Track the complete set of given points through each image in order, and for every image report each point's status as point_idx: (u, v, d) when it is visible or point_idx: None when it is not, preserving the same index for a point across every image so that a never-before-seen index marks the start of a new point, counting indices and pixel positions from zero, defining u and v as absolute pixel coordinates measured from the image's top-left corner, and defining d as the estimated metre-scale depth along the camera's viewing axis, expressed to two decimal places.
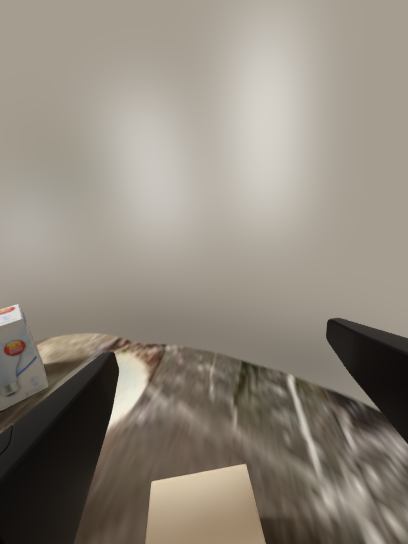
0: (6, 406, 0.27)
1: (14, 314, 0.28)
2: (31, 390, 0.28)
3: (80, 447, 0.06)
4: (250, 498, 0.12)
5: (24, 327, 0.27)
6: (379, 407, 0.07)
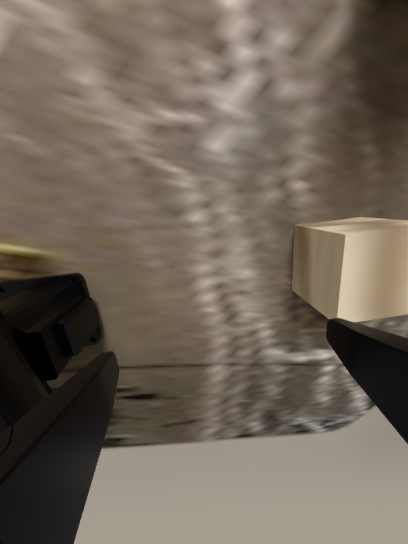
0: None
1: None
2: None
3: (80, 447, 0.06)
4: (397, 313, 0.15)
5: None
6: (379, 407, 0.07)
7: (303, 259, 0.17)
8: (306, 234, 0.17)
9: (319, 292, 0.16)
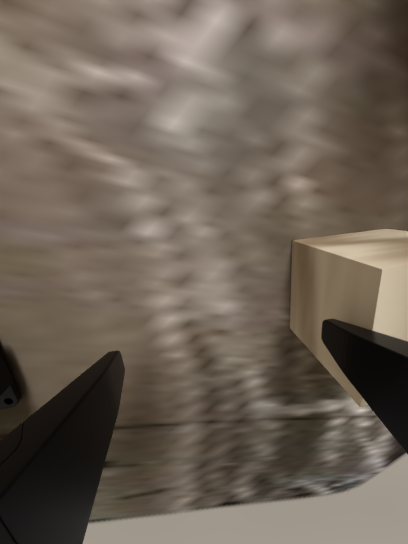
0: None
1: None
2: None
3: (89, 446, 0.06)
4: None
5: None
6: (373, 408, 0.07)
7: (306, 291, 0.12)
8: (310, 256, 0.11)
9: None
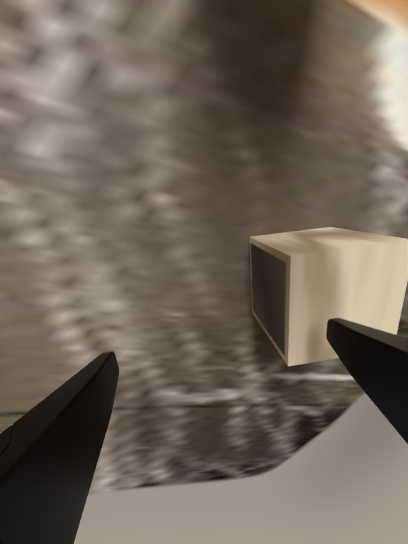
0: None
1: None
2: None
3: (80, 447, 0.06)
4: None
5: None
6: (379, 407, 0.07)
7: (324, 302, 0.10)
8: (331, 262, 0.10)
9: None
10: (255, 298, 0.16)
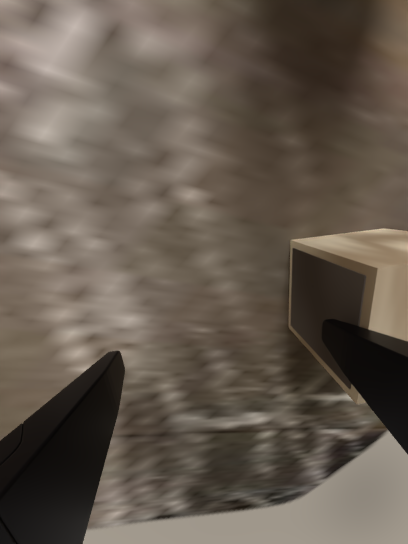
0: None
1: None
2: None
3: (89, 445, 0.06)
4: None
5: None
6: (373, 408, 0.07)
7: None
8: None
9: None
10: (295, 311, 0.13)
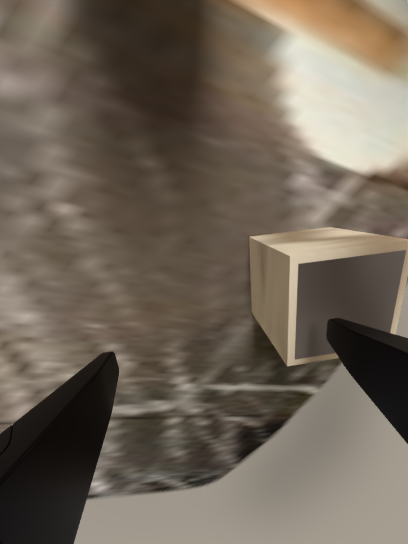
0: None
1: None
2: None
3: (80, 447, 0.06)
4: None
5: None
6: (379, 407, 0.07)
7: None
8: None
9: None
10: (305, 337, 0.11)
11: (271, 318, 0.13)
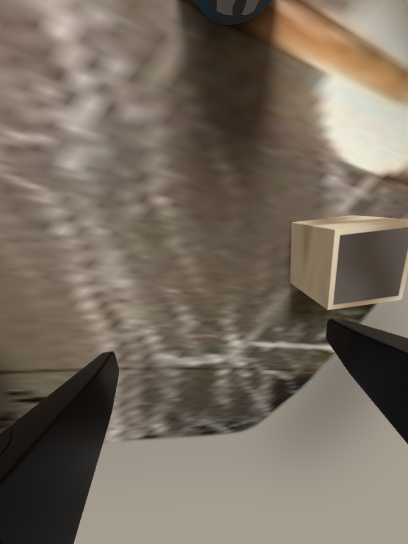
0: None
1: None
2: None
3: (80, 447, 0.06)
4: None
5: None
6: (379, 407, 0.07)
7: None
8: None
9: None
10: (341, 288, 0.16)
11: (313, 279, 0.18)
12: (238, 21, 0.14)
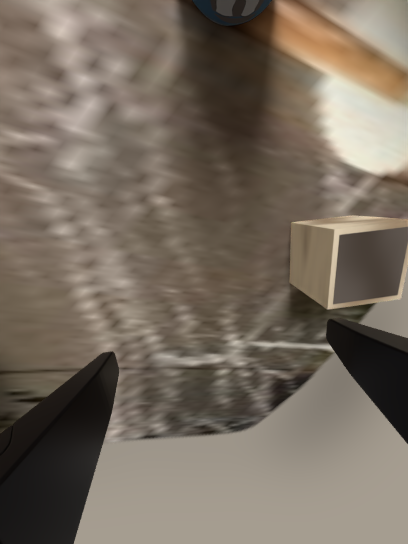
0: None
1: None
2: None
3: (80, 447, 0.06)
4: None
5: None
6: (379, 407, 0.07)
7: None
8: None
9: None
10: (341, 287, 0.16)
11: (312, 279, 0.18)
12: (238, 22, 0.14)
